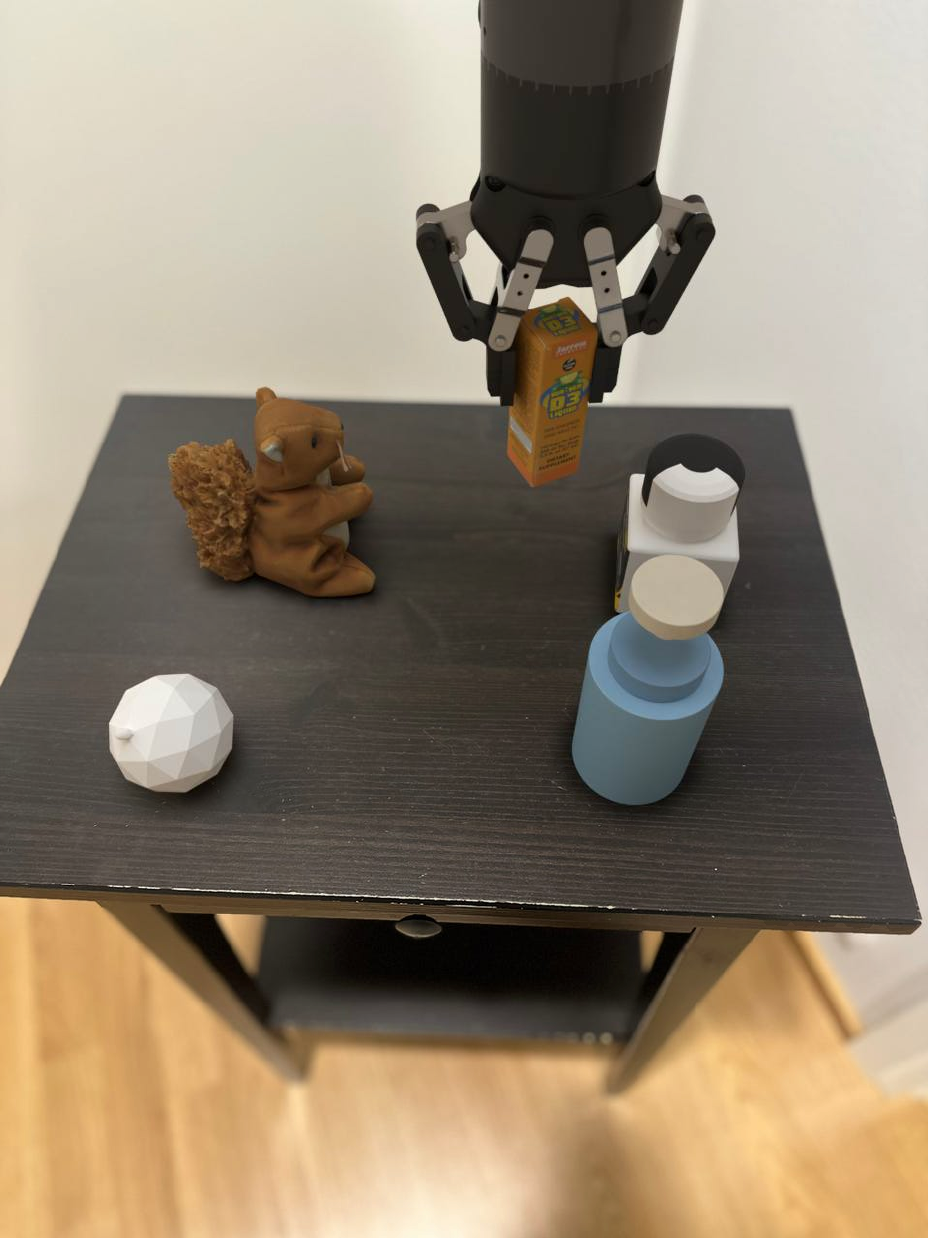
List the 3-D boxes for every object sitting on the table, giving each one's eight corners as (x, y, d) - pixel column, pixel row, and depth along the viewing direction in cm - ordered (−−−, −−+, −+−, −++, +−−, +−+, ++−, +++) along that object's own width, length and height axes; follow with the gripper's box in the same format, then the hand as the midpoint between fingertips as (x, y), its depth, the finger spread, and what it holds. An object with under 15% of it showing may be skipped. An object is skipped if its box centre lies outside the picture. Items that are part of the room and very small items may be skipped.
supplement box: (532, 493, 50) (540, 345, 42) (505, 456, 52) (508, 307, 44) (583, 475, 51) (600, 326, 43) (555, 439, 52) (566, 290, 44)
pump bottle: (674, 701, 57) (714, 587, 48) (696, 802, 53) (745, 700, 43) (565, 706, 57) (583, 593, 47) (579, 808, 53) (602, 707, 43)
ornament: (259, 788, 54) (166, 799, 46) (168, 786, 57) (66, 796, 50) (261, 674, 55) (169, 668, 47) (170, 679, 58) (71, 673, 50)
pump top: (700, 592, 46) (713, 551, 43) (718, 661, 43) (733, 623, 40) (616, 595, 45) (624, 555, 43) (629, 665, 43) (639, 627, 40)
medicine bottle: (617, 539, 66) (641, 415, 56) (713, 548, 65) (754, 425, 55) (613, 614, 62) (639, 494, 52) (716, 625, 61) (761, 505, 51)
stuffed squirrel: (384, 595, 63) (365, 460, 52) (187, 615, 62) (127, 482, 51) (376, 497, 69) (357, 357, 58) (196, 514, 68) (144, 376, 57)
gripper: (391, 83, 31) (419, 447, 45) (788, 70, 31) (694, 437, 45) (393, 4, 35) (417, 357, 49) (740, -7, 36) (668, 348, 49)
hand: (550, 393), depth 47 cm, fingers closed on supplement box, 4 cm apart
